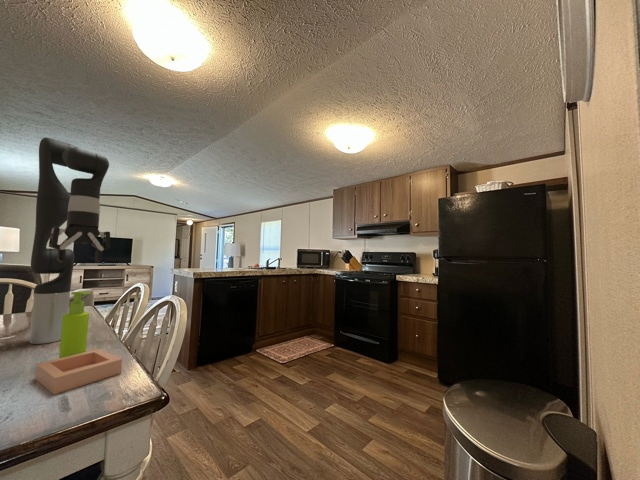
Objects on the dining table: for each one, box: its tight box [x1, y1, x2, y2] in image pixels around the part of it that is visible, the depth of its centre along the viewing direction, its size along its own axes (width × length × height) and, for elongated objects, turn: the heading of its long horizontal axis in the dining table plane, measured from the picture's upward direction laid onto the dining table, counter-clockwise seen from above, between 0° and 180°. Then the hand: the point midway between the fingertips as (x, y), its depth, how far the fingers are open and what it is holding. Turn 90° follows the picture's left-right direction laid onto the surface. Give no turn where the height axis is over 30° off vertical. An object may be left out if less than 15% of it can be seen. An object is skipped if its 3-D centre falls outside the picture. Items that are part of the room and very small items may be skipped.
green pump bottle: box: [58, 290, 92, 359], centre depth 79 cm, size 6×7×20 cm
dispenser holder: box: [34, 348, 123, 395], centre depth 67 cm, size 14×13×4 cm
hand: (80, 262), depth 81 cm, fingers open, 8 cm apart
